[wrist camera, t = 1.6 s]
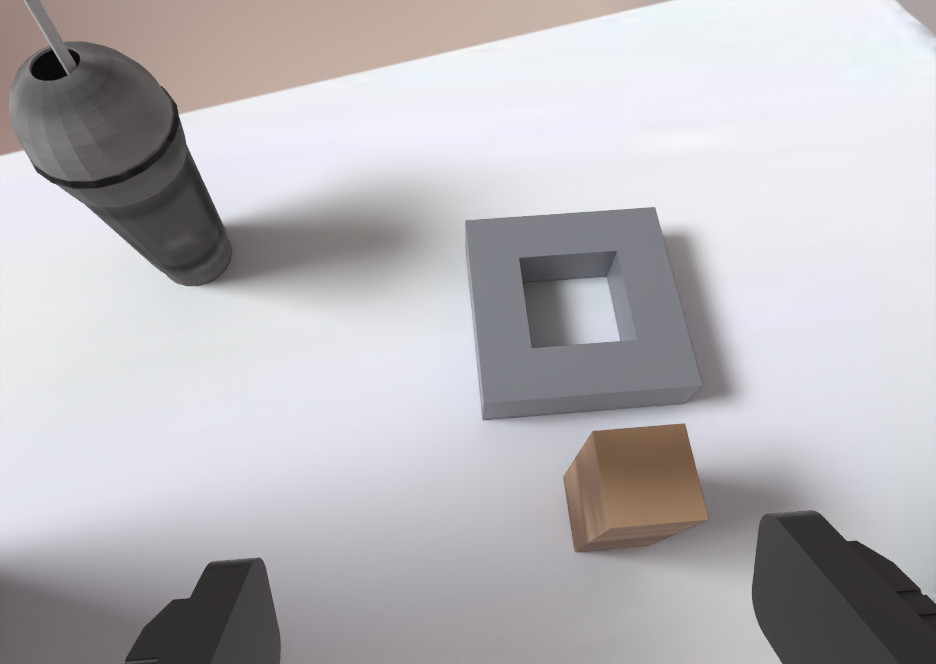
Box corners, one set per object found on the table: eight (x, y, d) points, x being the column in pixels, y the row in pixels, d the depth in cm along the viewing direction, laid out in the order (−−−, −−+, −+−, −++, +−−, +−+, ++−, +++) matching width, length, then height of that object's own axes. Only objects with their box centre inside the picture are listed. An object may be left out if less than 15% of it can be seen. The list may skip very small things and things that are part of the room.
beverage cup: (164, 206, 42) (-64, -106, 24) (266, 218, 42) (111, -91, 24) (124, 297, 39) (-172, 17, 21) (233, 311, 39) (27, 37, 21)
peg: (648, 545, 33) (708, 519, 24) (574, 552, 32) (610, 528, 24) (633, 470, 34) (685, 423, 26) (563, 476, 34) (592, 431, 26)
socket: (685, 403, 36) (702, 385, 33) (482, 419, 36) (483, 403, 33) (642, 234, 41) (655, 207, 38) (465, 247, 41) (465, 220, 38)
